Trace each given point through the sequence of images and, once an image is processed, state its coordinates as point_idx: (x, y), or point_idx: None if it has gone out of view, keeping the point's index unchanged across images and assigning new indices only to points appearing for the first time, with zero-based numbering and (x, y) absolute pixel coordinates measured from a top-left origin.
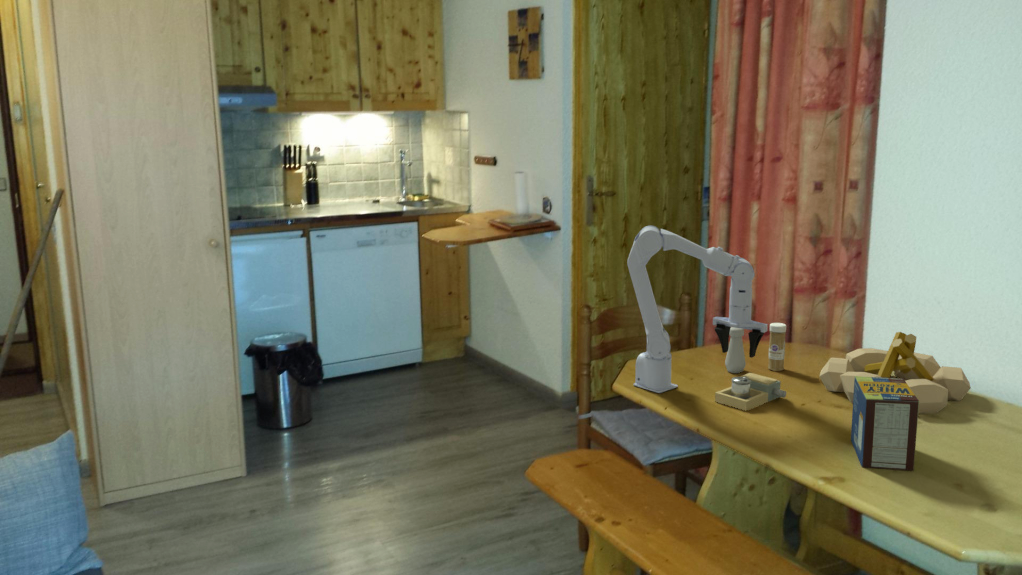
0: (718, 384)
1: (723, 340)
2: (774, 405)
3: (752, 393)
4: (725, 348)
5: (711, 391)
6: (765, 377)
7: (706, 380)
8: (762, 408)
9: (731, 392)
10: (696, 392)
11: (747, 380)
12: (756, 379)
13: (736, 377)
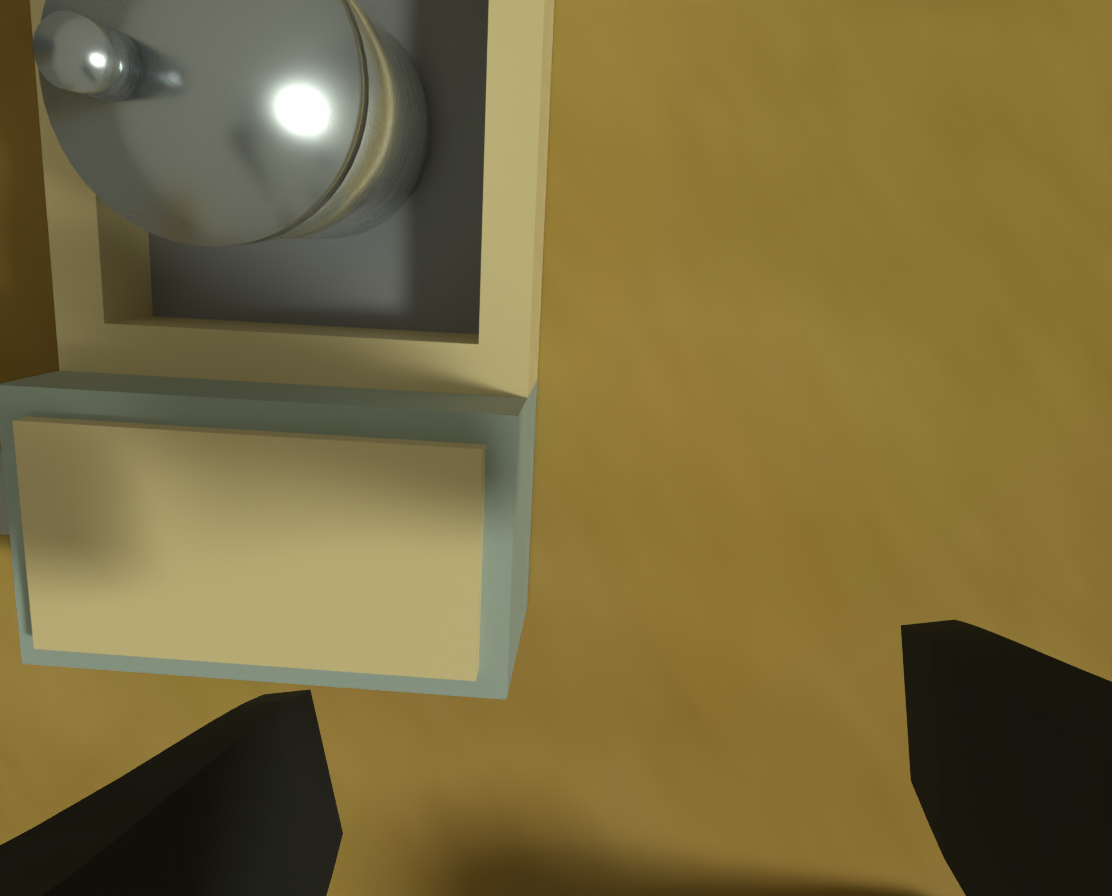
0: (873, 514)
1: (1092, 757)
2: (19, 316)
3: (267, 326)
4: (941, 706)
5: (805, 234)
6: (197, 629)
7: (1066, 545)
8: (39, 131)
9: (371, 16)
10: (937, 61)
11: (102, 116)
12: (228, 471)
13: (319, 119)
